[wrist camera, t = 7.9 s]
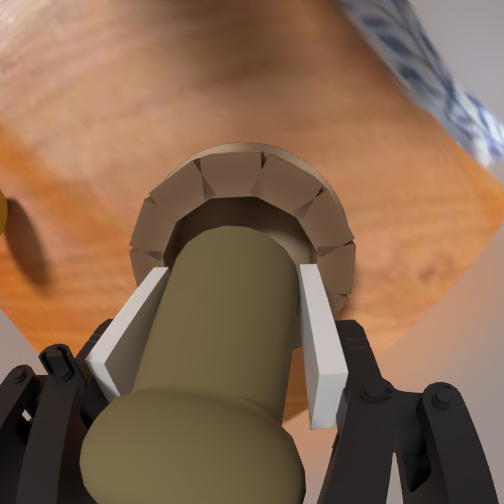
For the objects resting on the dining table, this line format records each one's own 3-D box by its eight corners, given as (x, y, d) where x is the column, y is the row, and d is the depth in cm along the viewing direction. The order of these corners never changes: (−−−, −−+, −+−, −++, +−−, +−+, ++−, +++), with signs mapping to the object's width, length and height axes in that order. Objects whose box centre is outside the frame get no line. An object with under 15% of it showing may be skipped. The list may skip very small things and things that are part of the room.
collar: (350, 141, 15) (369, 143, 12) (338, 327, 20) (347, 360, 17) (134, 154, 16) (106, 160, 13) (166, 328, 21) (152, 358, 18)
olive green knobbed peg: (325, 292, 13) (378, 538, 3) (234, 354, 15) (200, 553, 5) (236, 196, 12) (100, 478, 2) (149, 280, 14) (24, 475, 4)
